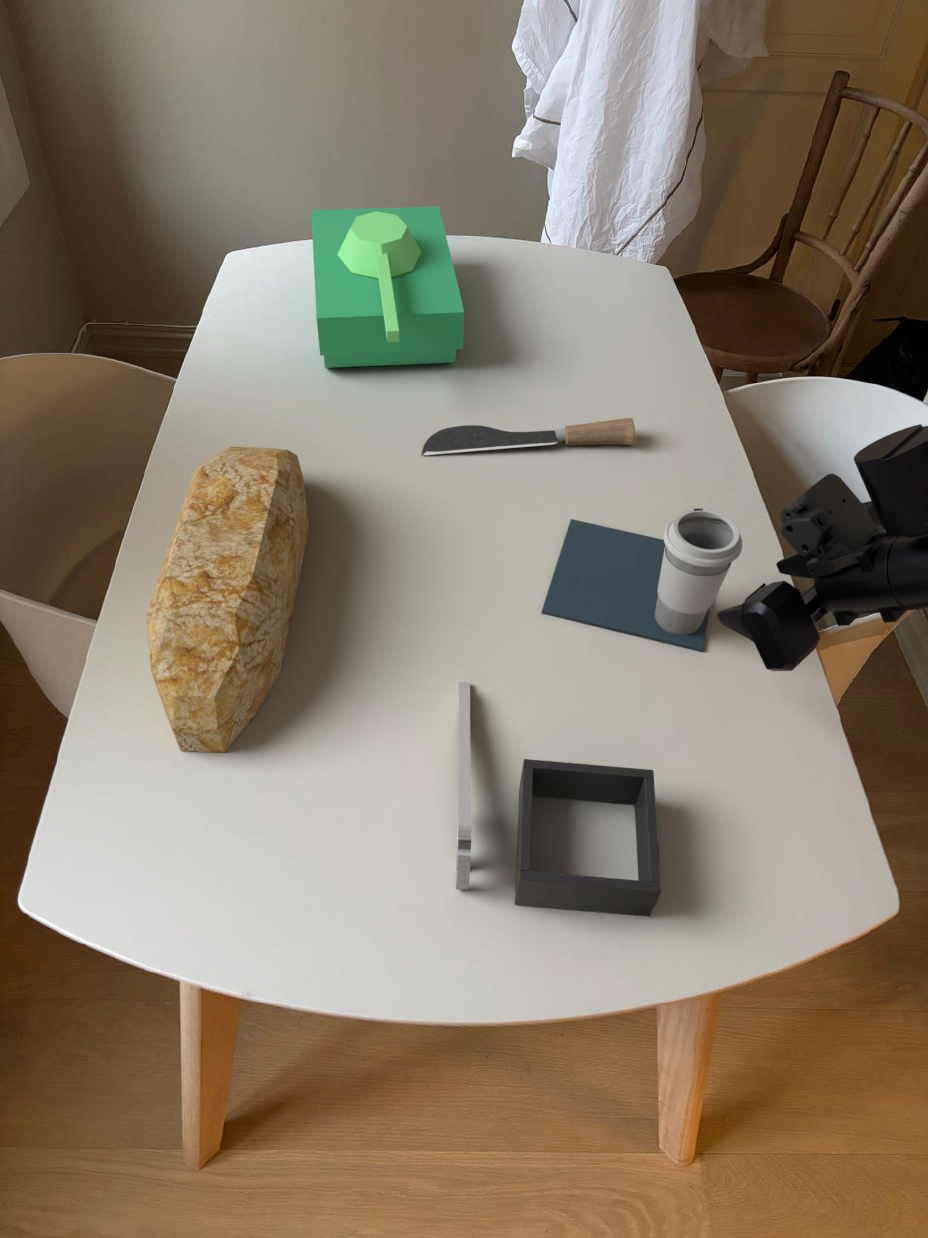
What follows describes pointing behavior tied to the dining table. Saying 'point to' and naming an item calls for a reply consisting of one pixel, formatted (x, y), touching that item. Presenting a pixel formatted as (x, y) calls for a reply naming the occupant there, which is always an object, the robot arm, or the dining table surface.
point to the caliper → (463, 790)
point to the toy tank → (385, 287)
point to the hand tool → (528, 437)
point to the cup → (694, 567)
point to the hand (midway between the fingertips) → (749, 592)
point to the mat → (612, 583)
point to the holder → (593, 787)
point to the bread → (227, 594)
